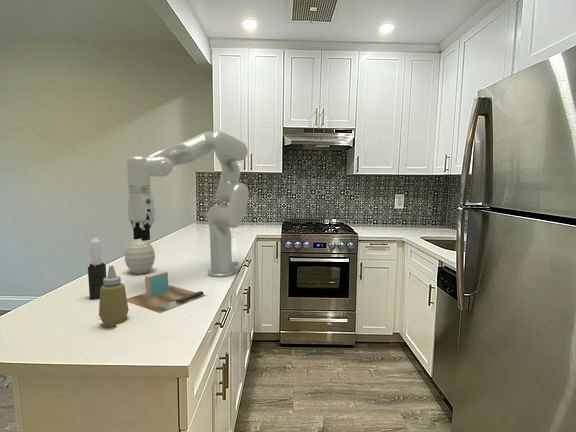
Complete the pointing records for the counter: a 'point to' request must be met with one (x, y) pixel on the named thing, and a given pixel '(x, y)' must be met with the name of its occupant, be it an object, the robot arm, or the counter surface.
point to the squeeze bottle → (112, 300)
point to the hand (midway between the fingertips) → (141, 239)
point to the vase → (139, 256)
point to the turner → (180, 301)
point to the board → (162, 299)
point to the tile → (156, 284)
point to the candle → (96, 270)
